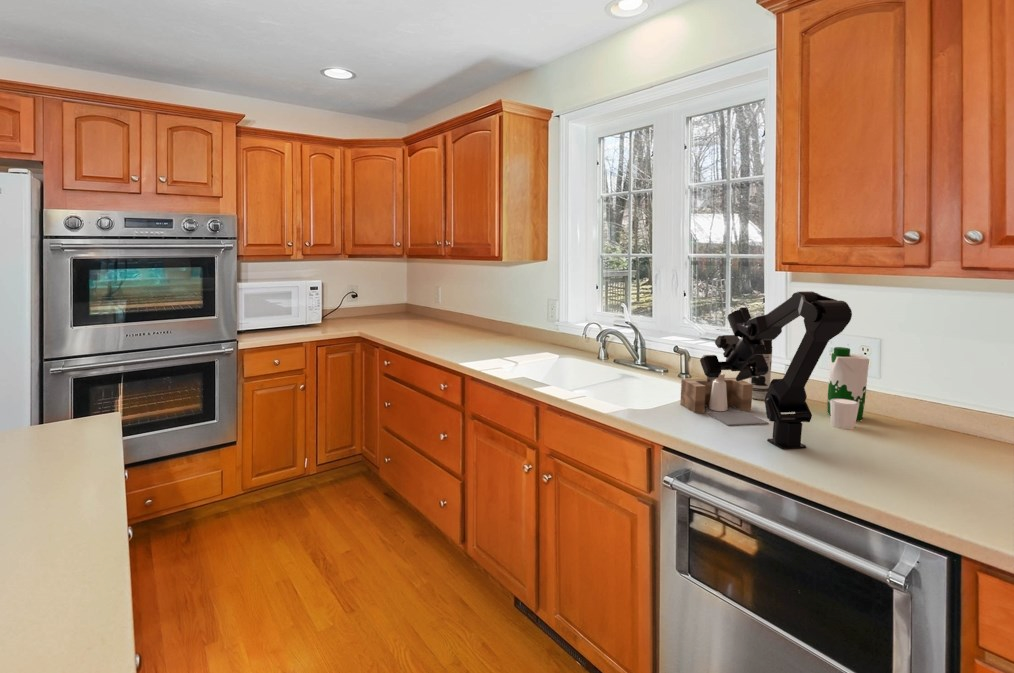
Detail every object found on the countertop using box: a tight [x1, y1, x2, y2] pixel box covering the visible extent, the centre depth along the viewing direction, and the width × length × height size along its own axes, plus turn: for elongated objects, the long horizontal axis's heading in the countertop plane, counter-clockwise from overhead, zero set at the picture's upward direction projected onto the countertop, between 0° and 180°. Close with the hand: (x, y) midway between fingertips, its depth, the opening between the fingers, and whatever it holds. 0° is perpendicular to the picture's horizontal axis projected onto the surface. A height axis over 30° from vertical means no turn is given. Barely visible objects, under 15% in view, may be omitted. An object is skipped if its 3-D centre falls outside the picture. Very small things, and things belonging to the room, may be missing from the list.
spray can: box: [747, 340, 773, 401], centre depth 185 cm, size 7×7×20 cm
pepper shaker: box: [708, 372, 728, 412], centre depth 172 cm, size 5×5×11 cm
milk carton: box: [826, 346, 870, 421], centre depth 163 cm, size 9×9×20 cm
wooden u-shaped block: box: [680, 377, 753, 414], centre depth 174 cm, size 10×18×8 cm, turn 99°
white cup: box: [830, 399, 860, 430], centre depth 155 cm, size 7×7×7 cm
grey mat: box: [706, 410, 770, 427], centre depth 162 cm, size 12×12×1 cm
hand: (722, 380), depth 170 cm, fingers open, 9 cm apart
